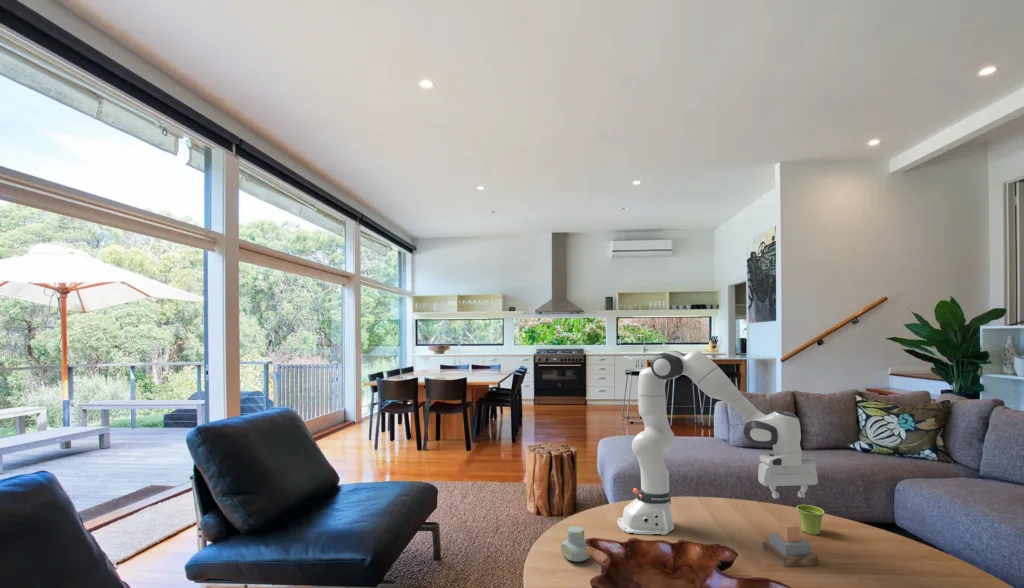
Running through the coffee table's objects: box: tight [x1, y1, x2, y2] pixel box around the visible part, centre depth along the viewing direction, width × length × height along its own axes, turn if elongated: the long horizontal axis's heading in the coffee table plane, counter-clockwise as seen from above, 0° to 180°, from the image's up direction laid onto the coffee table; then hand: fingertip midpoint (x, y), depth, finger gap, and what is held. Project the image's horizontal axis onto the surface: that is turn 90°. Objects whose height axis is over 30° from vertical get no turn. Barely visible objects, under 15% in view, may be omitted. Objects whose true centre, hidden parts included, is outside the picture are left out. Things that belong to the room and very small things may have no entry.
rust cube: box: [778, 520, 801, 542], centre depth 172 cm, size 4×4×5 cm
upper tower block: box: [768, 532, 811, 556], centre depth 172 cm, size 9×9×4 cm
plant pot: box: [796, 504, 825, 536], centre depth 192 cm, size 9×9×9 cm
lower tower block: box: [762, 541, 818, 567], centre depth 172 cm, size 12×12×4 cm
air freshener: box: [560, 525, 591, 563], centre depth 173 cm, size 11×8×10 cm
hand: (788, 497), depth 173 cm, fingers open, 8 cm apart
